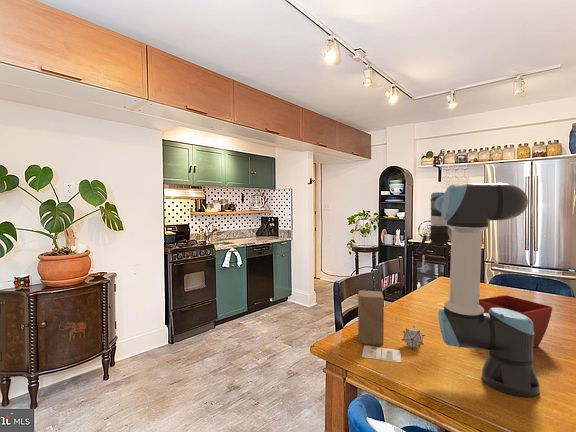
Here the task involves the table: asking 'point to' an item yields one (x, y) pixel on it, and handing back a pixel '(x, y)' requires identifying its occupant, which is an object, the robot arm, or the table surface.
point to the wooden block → (370, 317)
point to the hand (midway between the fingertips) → (438, 270)
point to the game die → (413, 337)
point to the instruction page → (382, 354)
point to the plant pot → (522, 312)
